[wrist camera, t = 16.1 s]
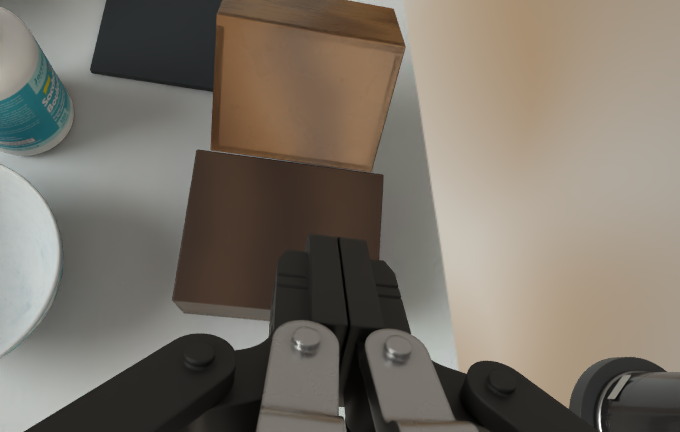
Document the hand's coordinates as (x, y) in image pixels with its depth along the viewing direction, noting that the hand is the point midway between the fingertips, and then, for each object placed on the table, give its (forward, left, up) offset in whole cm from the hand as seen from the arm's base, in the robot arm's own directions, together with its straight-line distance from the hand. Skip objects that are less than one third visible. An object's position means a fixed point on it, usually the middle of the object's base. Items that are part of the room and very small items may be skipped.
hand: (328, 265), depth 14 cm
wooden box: (0, -15, -20) cm, 25 cm away
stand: (0, -7, -32) cm, 33 cm away
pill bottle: (+22, -16, -32) cm, 42 cm away
